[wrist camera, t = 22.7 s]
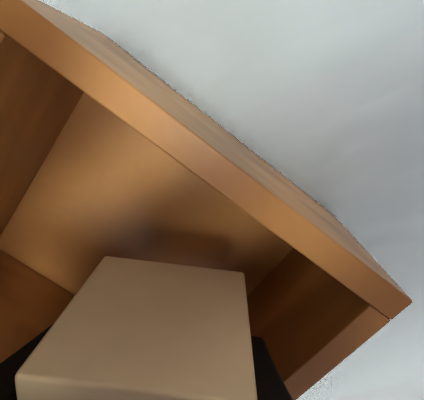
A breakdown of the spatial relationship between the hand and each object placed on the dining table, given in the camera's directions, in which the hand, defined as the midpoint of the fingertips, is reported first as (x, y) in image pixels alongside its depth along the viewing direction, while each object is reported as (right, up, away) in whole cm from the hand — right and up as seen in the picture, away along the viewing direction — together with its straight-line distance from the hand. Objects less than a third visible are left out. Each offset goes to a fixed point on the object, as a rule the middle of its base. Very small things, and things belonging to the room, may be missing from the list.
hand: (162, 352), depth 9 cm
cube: (0, 0, +1) cm, 1 cm away
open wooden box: (-1, +3, +6) cm, 7 cm away
